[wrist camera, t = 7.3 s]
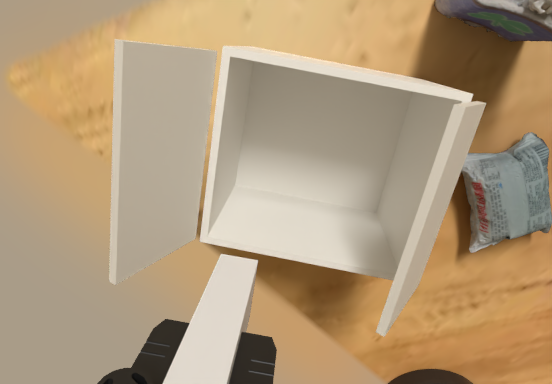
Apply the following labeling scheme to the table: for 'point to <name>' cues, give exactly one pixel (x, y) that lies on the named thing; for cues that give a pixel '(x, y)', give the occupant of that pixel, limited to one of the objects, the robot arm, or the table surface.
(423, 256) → the flap right
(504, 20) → the purple green package
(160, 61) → the flap left
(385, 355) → the table surface
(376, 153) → the carton
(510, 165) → the packaged food
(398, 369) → the table surface
